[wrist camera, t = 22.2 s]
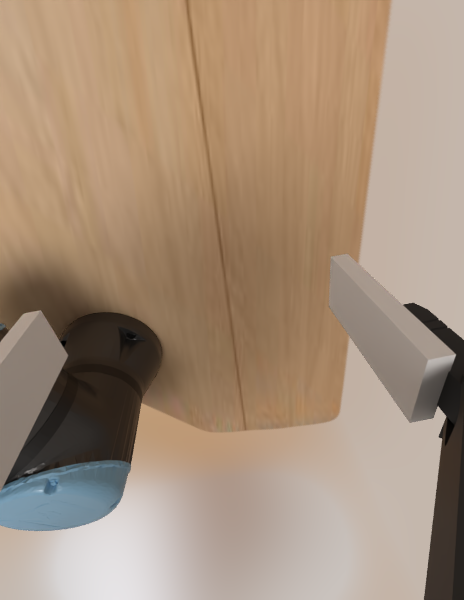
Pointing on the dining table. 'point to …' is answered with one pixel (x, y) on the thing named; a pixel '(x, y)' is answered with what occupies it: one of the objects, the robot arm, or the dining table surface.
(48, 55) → the dining table surface
